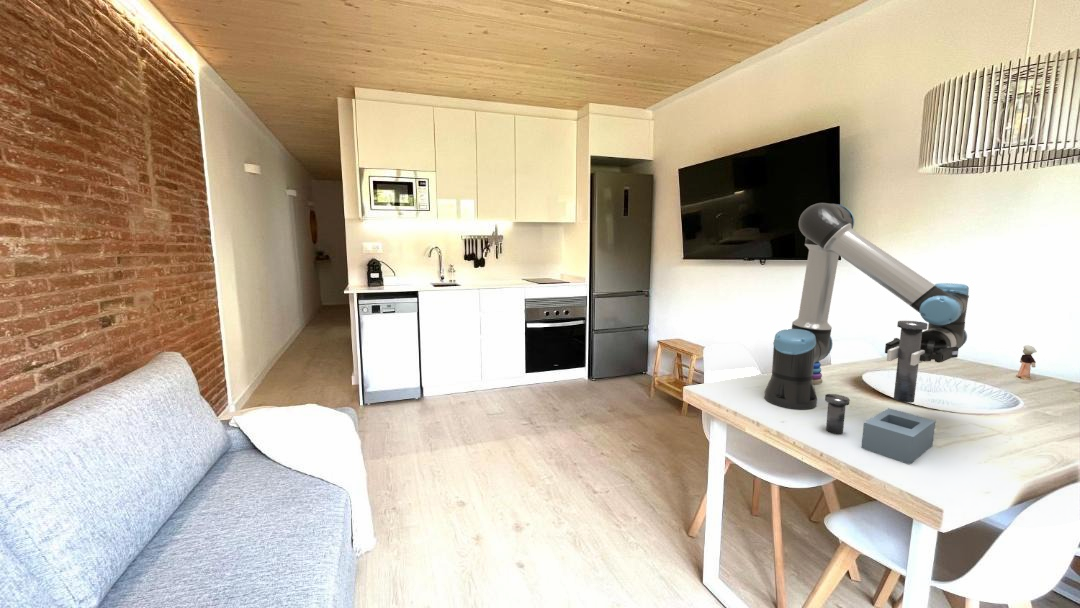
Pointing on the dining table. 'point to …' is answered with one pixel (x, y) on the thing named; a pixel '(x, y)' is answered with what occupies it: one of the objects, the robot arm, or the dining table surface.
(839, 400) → the short pin
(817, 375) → the stacking toy
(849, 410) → the dining table surface
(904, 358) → the tall pin
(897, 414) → the guide block
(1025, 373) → the grandmother figurine
